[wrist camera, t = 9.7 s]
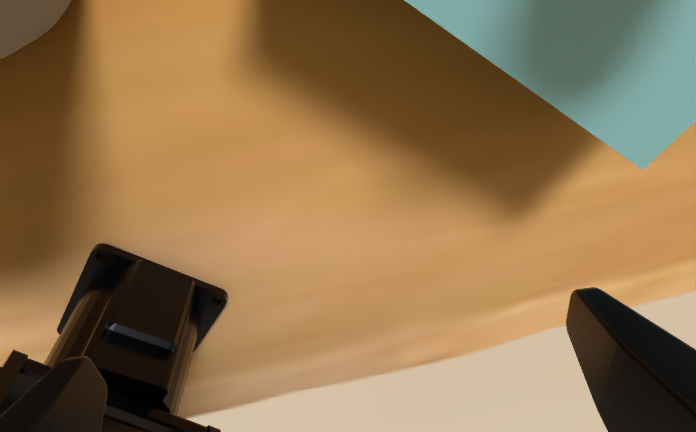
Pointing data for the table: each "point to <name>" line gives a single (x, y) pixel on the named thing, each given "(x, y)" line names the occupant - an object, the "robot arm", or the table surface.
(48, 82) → the table surface
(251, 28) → the table surface
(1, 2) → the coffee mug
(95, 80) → the table surface
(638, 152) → the socket block
